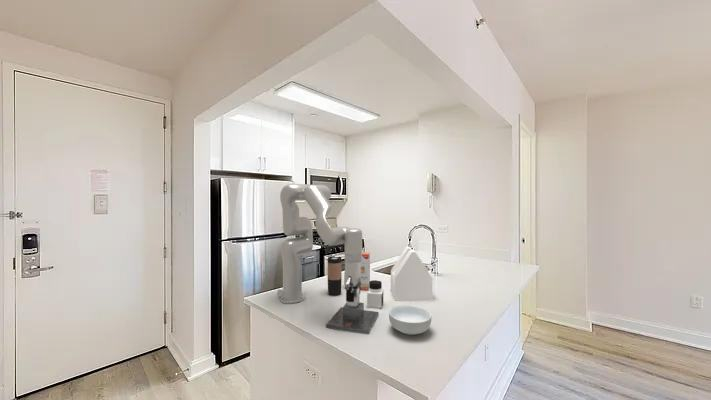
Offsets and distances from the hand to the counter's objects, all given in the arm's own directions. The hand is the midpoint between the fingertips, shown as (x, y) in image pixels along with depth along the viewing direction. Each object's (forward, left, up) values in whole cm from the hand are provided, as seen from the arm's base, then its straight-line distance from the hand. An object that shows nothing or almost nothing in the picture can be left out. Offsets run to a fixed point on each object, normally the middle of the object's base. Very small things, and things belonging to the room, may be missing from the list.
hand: (353, 297), depth 120 cm
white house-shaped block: (+20, +39, -11) cm, 45 cm away
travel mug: (-20, +29, -10) cm, 37 cm away
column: (0, 0, -8) cm, 8 cm away
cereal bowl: (+24, -1, -11) cm, 26 cm away
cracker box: (-11, +41, -10) cm, 44 cm away
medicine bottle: (+5, +20, -10) cm, 23 cm away
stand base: (0, 0, -10) cm, 10 cm away
